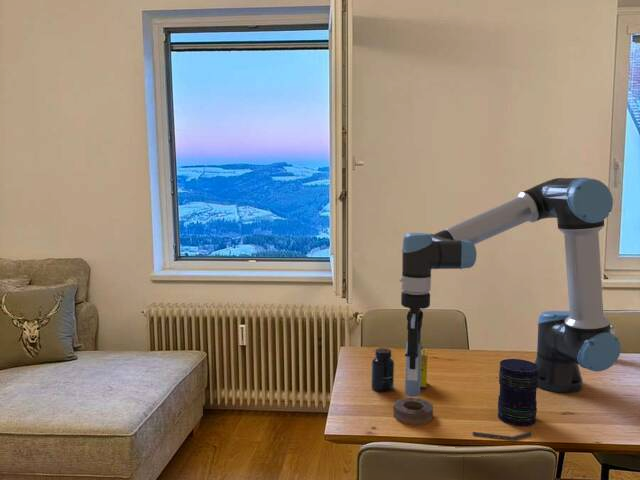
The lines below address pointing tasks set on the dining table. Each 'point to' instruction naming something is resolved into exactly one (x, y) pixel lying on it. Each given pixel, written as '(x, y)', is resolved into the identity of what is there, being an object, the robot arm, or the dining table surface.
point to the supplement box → (423, 369)
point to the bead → (413, 411)
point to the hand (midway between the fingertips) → (413, 376)
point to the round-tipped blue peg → (410, 385)
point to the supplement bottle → (382, 371)
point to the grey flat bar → (503, 435)
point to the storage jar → (518, 392)
